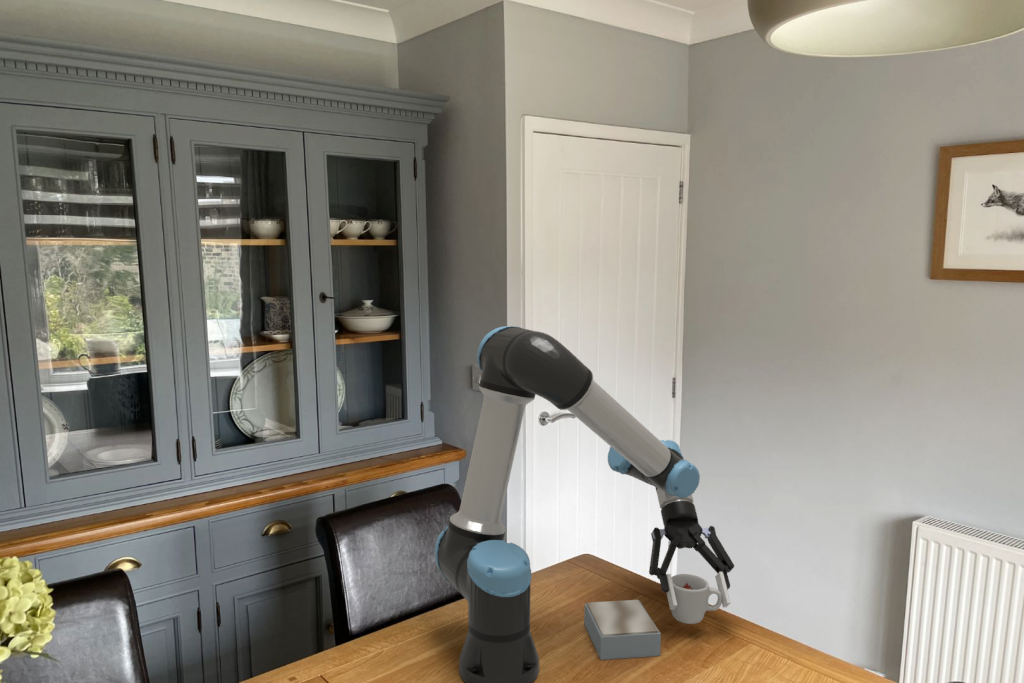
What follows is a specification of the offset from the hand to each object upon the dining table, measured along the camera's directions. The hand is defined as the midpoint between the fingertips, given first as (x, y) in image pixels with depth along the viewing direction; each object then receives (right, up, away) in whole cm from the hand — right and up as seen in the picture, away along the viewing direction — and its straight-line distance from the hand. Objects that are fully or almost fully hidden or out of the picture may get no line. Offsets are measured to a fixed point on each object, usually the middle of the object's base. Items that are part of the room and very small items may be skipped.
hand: (700, 606), depth 152 cm
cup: (0, -4, +3) cm, 5 cm away
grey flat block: (-16, -7, +1) cm, 18 cm away
